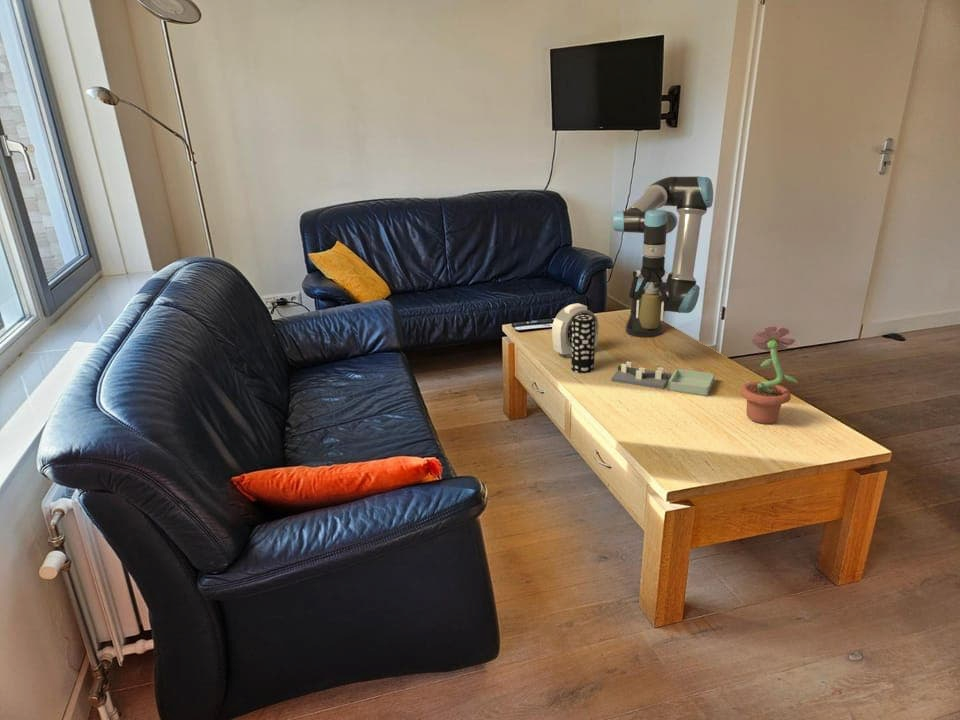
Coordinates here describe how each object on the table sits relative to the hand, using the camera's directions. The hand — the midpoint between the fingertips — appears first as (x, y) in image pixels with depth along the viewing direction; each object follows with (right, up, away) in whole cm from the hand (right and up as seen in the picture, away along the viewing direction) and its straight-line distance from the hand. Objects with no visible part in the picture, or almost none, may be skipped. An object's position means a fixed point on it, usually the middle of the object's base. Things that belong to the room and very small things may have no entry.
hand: (650, 318), depth 226 cm
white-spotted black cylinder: (-23, -19, +6) cm, 31 cm away
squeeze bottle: (0, -3, +1) cm, 3 cm away
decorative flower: (+24, -33, -37) cm, 55 cm away
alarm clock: (-24, -13, +21) cm, 35 cm away
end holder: (+11, -24, -12) cm, 29 cm away
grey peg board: (-4, -22, -4) cm, 23 cm away
